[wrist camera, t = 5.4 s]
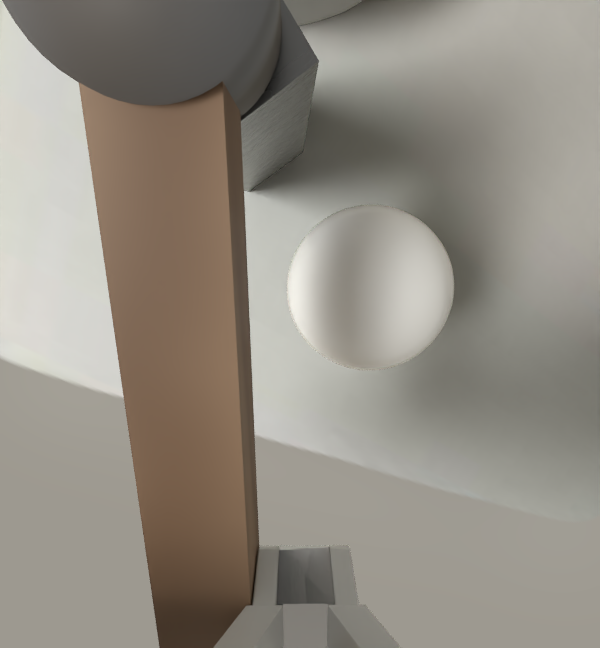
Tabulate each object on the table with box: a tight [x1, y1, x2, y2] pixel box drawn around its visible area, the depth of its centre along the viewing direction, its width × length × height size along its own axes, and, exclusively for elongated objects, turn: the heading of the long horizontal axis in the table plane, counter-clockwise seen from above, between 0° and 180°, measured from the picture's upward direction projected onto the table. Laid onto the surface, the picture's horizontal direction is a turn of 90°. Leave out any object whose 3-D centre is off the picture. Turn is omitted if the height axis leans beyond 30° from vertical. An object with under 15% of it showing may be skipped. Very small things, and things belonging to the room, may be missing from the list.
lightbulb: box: [287, 205, 454, 370], centre depth 18 cm, size 6×6×11 cm
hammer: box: [2, 0, 282, 648], centre depth 8 cm, size 4×18×3 cm, turn 0°
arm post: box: [241, 0, 319, 192], centre depth 15 cm, size 4×4×14 cm
